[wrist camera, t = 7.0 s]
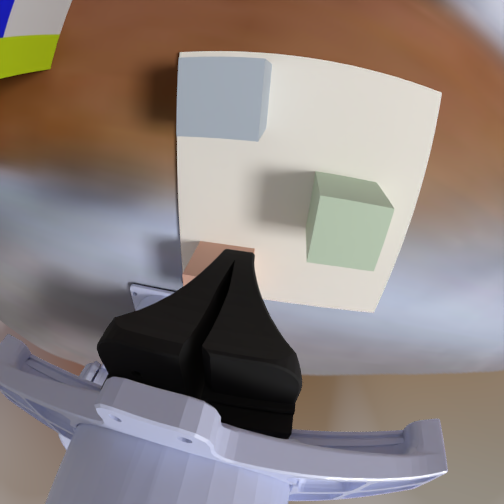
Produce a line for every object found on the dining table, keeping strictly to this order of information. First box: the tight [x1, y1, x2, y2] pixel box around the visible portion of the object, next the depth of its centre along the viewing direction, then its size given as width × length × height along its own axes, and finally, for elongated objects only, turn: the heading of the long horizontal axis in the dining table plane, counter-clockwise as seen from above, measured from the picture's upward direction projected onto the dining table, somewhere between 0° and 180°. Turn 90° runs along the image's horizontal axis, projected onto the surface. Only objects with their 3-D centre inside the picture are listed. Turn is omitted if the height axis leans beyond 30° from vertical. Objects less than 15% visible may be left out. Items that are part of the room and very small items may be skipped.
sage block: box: [306, 171, 394, 271], centre depth 19 cm, size 4×4×4 cm
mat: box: [177, 51, 442, 313], centre depth 21 cm, size 20×18×1 cm
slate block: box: [176, 57, 272, 142], centre depth 15 cm, size 4×4×4 cm
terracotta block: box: [182, 241, 255, 286], centre depth 23 cm, size 4×4×4 cm
